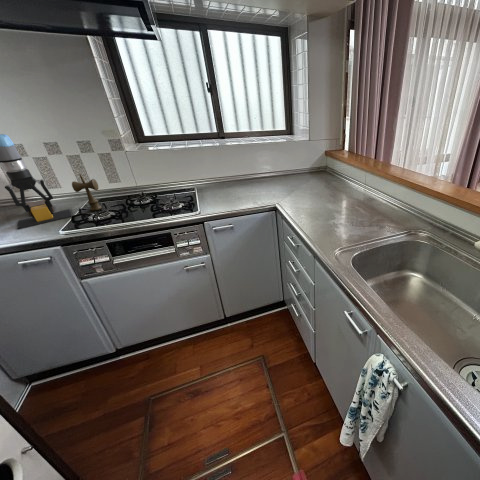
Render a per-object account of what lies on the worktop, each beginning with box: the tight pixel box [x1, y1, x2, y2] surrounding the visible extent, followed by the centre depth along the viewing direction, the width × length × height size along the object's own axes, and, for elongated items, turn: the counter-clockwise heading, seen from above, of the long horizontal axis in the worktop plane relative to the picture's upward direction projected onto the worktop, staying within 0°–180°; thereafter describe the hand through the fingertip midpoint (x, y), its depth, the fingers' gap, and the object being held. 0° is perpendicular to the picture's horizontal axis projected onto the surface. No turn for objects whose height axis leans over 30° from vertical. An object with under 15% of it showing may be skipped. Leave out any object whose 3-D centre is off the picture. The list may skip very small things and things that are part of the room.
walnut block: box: [26, 199, 55, 218], centre depth 144 cm, size 9×9×5 cm
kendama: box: [71, 173, 103, 212], centre depth 141 cm, size 6×10×20 cm, turn 113°
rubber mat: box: [17, 209, 72, 230], centre depth 136 cm, size 20×12×1 cm, turn 133°
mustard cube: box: [31, 204, 53, 222], centre depth 135 cm, size 6×6×6 cm
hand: (43, 215), depth 135 cm, fingers closed on mustard cube, 6 cm apart
